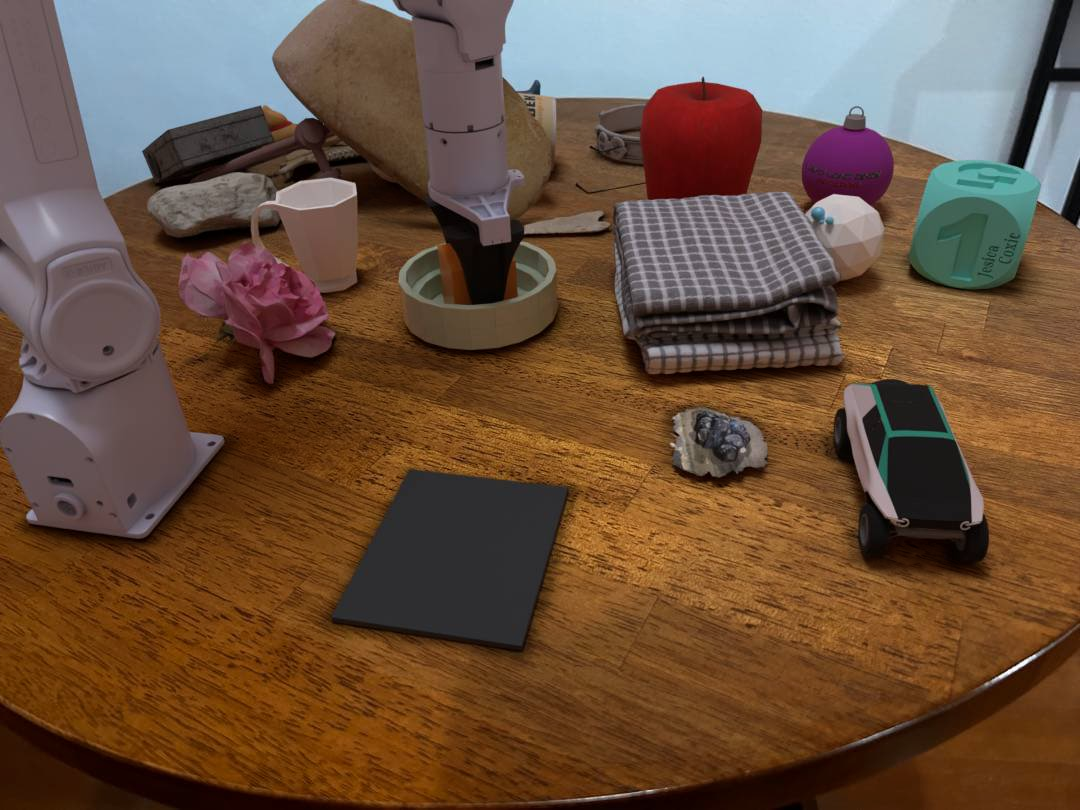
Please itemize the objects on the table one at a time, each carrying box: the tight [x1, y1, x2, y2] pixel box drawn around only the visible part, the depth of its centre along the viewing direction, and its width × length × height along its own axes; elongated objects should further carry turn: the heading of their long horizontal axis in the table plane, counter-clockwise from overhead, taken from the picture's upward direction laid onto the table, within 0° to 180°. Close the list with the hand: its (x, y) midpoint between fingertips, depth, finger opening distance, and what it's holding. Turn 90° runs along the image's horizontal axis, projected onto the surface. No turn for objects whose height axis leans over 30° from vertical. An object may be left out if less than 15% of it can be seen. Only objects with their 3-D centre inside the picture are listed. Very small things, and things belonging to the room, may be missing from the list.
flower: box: [178, 241, 336, 385], centre depth 65 cm, size 11×10×10 cm
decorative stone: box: [146, 171, 282, 238], centre depth 85 cm, size 12×11×5 cm
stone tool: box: [523, 209, 612, 235], centre depth 83 cm, size 5×1×10 cm
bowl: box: [397, 240, 559, 351], centre depth 69 cm, size 12×12×4 cm
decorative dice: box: [908, 159, 1042, 290], centre depth 71 cm, size 8×8×8 cm
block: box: [436, 243, 518, 305], centre depth 69 cm, size 5×5×5 cm
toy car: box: [832, 378, 990, 563], centre depth 49 cm, size 6×12×5 cm, turn 173°
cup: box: [250, 178, 359, 294], centre depth 74 cm, size 7×10×8 cm
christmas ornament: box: [801, 105, 895, 207], centre depth 81 cm, size 8×8×10 cm
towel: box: [612, 190, 845, 375], centre depth 66 cm, size 15×18×8 cm
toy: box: [261, 104, 343, 151], centre depth 104 cm, size 3×17×5 cm, turn 91°
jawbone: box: [276, 145, 363, 181], centre depth 100 cm, size 9×20×2 cm, turn 118°
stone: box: [271, 0, 552, 221], centre depth 85 cm, size 30×15×6 cm
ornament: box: [804, 194, 885, 282], centre depth 71 cm, size 7×7×8 cm
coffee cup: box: [518, 93, 557, 172], centre depth 94 cm, size 9×9×12 cm
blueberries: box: [669, 406, 769, 478], centre depth 55 cm, size 7×8×2 cm
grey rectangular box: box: [141, 105, 274, 184], centre depth 93 cm, size 16×4×10 cm
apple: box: [639, 76, 763, 200], centre depth 79 cm, size 10×10×14 cm
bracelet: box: [594, 103, 647, 164], centre depth 100 cm, size 14×14×3 cm
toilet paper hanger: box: [189, 117, 346, 184], centre depth 93 cm, size 22×8×14 cm
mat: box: [330, 468, 569, 652], centre depth 48 cm, size 12×10×1 cm
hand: (479, 293), depth 69 cm, fingers closed on block, 5 cm apart
